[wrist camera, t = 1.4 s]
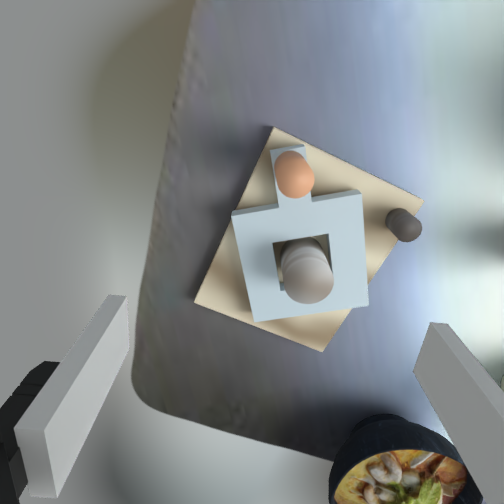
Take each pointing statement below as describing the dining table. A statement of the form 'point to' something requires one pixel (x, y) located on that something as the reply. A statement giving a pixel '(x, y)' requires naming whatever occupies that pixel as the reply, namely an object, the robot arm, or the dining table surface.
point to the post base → (265, 193)
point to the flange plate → (299, 226)
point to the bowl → (399, 466)
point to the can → (502, 384)
